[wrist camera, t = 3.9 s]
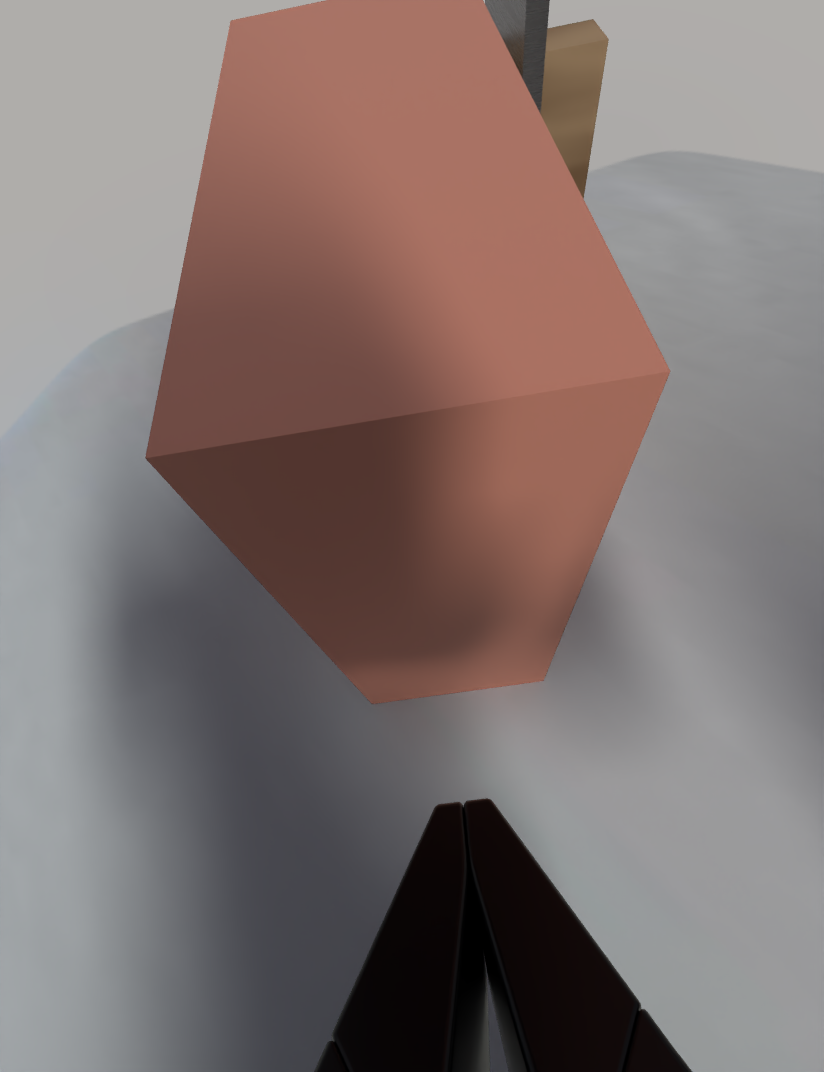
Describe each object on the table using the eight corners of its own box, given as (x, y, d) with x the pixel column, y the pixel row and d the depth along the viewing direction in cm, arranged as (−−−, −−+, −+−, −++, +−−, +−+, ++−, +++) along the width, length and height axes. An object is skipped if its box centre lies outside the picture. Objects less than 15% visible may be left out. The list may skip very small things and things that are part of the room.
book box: (543, 681, 18) (670, 370, 6) (372, 704, 18) (145, 458, 6) (475, 389, 25) (467, -30, 13) (353, 409, 25) (230, 20, 13)
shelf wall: (569, 287, 27) (608, 39, 19) (329, 330, 28) (260, 109, 19) (560, 265, 28) (593, 19, 20) (328, 306, 29) (262, 86, 20)
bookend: (604, 366, 24) (722, -89, 12) (507, 382, 25) (528, -48, 12) (571, 287, 27) (640, -141, 15) (485, 302, 28) (485, -107, 15)
